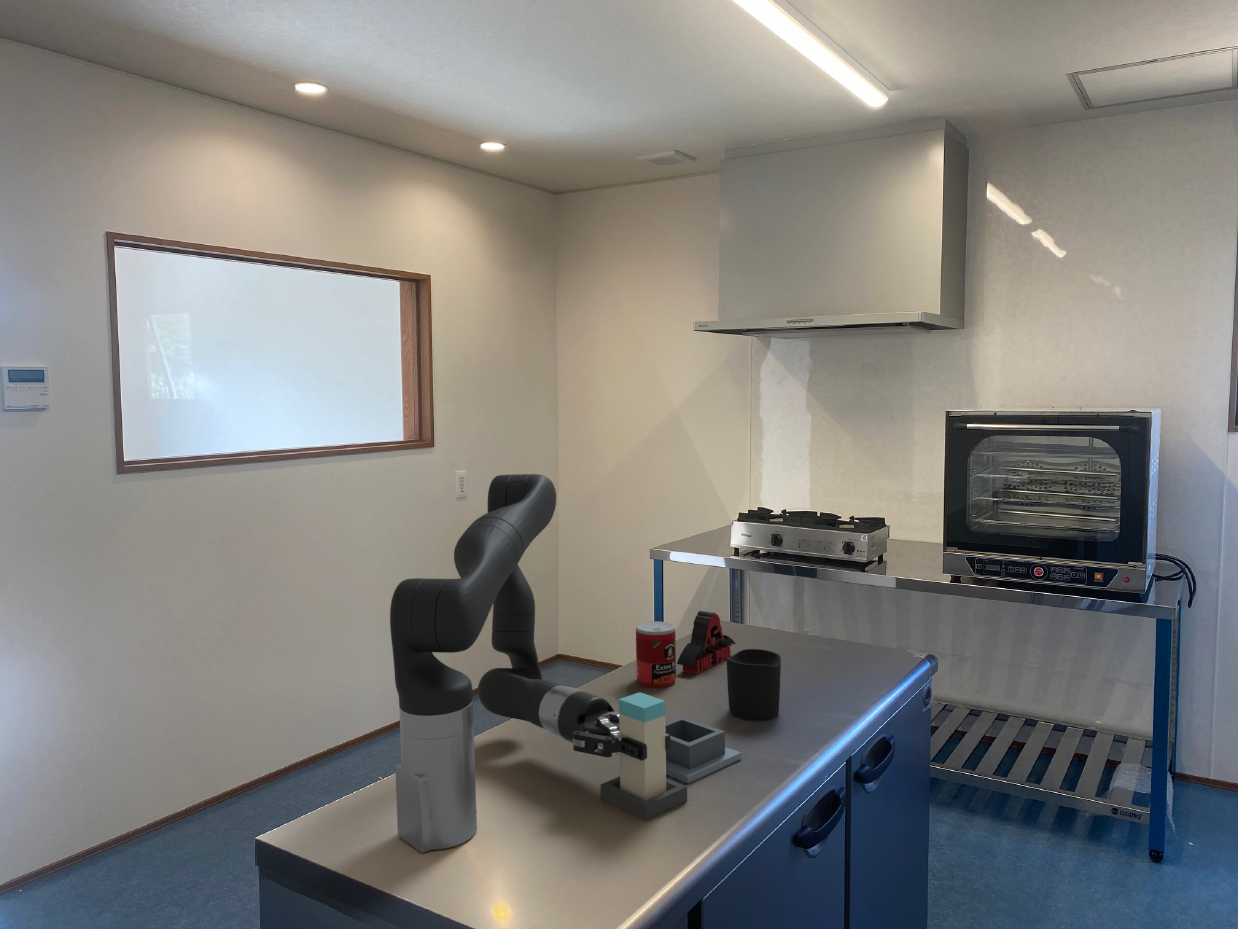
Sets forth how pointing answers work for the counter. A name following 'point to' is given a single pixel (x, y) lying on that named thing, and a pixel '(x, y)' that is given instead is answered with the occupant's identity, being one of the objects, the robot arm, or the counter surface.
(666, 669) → the canned food
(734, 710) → the pen holder
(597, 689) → the counter surface
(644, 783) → the plug
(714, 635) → the logo sign
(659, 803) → the gray square frame
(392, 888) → the counter surface
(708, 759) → the port
